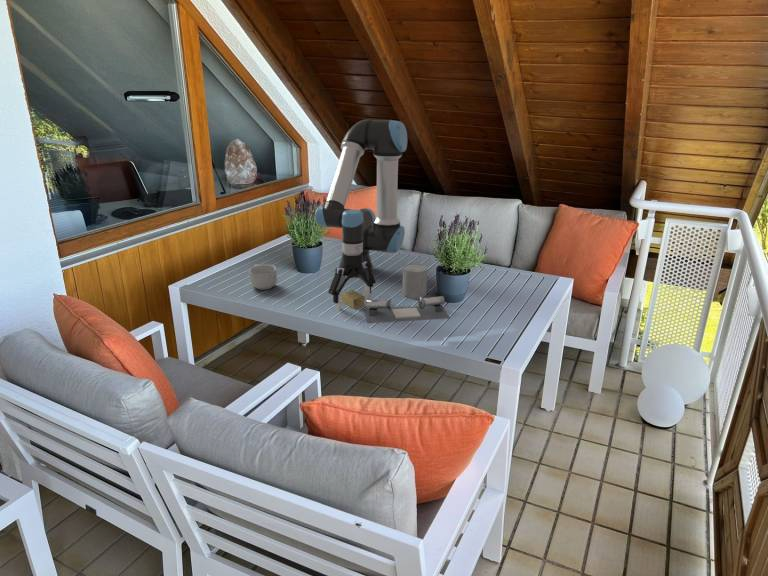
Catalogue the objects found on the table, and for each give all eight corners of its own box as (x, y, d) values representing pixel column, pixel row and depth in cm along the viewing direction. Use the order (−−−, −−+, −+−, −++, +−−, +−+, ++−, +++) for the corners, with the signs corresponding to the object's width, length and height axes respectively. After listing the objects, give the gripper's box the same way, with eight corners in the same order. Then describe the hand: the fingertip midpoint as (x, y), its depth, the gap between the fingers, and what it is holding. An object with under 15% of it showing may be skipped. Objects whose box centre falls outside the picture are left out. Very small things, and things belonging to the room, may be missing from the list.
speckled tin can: (398, 294, 230) (399, 265, 226) (420, 291, 234) (421, 262, 229) (407, 303, 222) (408, 273, 218) (430, 299, 225) (431, 270, 221)
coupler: (341, 304, 220) (341, 292, 218) (352, 301, 223) (352, 289, 221) (353, 311, 214) (353, 299, 212) (364, 308, 217) (364, 296, 215)
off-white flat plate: (392, 310, 212) (392, 309, 212) (416, 309, 214) (416, 307, 214) (395, 318, 206) (395, 316, 206) (420, 316, 207) (420, 315, 207)
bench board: (363, 312, 213) (363, 309, 213) (441, 307, 218) (441, 304, 218) (367, 326, 202) (367, 323, 202) (450, 321, 207) (450, 318, 207)
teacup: (279, 290, 232) (278, 271, 230) (252, 293, 229) (251, 274, 226) (272, 278, 244) (271, 260, 242) (247, 281, 241) (245, 263, 238)
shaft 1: (366, 315, 208) (366, 301, 206) (366, 310, 212) (366, 296, 210) (391, 315, 208) (391, 301, 206) (390, 310, 212) (391, 296, 210)
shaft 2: (439, 306, 216) (440, 292, 214) (444, 311, 213) (445, 296, 210) (417, 309, 213) (418, 295, 211) (422, 314, 210) (423, 299, 208)
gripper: (330, 262, 200) (331, 317, 208) (385, 249, 215) (384, 301, 223) (318, 256, 205) (319, 311, 213) (372, 244, 221) (372, 295, 228)
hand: (352, 306), depth 218 cm, fingers open, 13 cm apart
